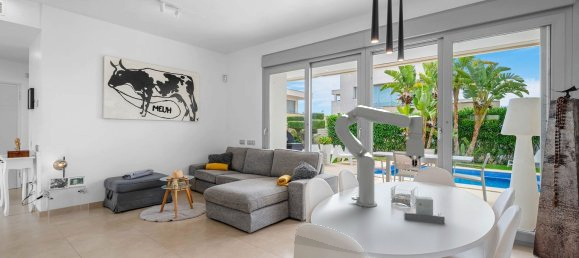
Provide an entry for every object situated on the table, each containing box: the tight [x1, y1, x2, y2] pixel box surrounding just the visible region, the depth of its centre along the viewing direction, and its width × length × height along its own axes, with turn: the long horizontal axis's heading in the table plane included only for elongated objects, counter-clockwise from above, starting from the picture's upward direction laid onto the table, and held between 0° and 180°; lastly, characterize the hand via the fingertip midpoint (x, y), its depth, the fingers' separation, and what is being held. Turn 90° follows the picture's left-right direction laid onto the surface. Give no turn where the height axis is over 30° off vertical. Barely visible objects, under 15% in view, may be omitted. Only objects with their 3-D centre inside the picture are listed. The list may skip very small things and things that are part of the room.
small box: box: [414, 196, 434, 215], centre depth 150 cm, size 8×6×10 cm
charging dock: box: [403, 209, 446, 225], centre depth 149 cm, size 18×13×4 cm
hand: (414, 166), depth 169 cm, fingers closed
